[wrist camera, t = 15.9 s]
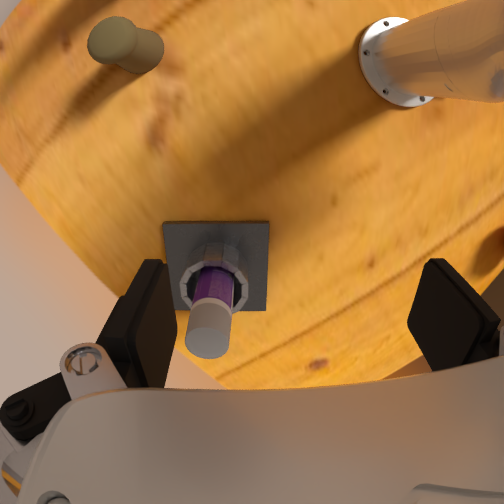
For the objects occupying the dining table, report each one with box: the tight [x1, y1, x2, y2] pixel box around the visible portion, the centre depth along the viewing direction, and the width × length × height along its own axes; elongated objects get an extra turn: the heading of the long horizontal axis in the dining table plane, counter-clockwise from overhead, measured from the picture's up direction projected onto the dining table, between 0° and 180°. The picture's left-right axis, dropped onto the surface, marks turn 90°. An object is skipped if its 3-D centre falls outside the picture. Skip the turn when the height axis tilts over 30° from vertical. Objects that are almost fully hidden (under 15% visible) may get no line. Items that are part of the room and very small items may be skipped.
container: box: [185, 266, 235, 359], centre depth 37 cm, size 5×5×15 cm
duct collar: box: [163, 221, 269, 314], centre depth 42 cm, size 14×14×6 cm
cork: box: [87, 16, 164, 74], centre depth 26 cm, size 6×6×11 cm
